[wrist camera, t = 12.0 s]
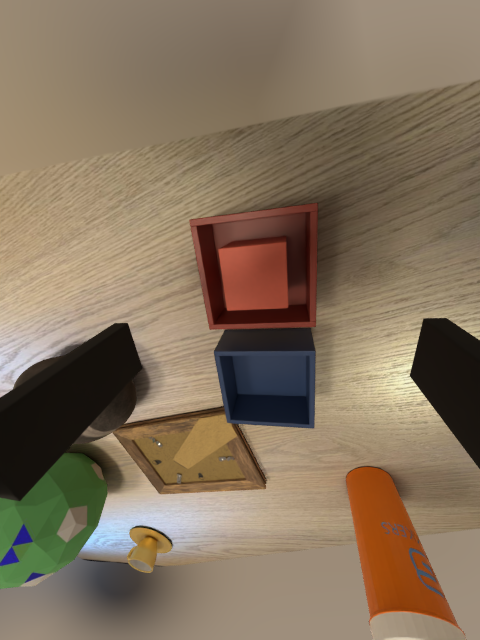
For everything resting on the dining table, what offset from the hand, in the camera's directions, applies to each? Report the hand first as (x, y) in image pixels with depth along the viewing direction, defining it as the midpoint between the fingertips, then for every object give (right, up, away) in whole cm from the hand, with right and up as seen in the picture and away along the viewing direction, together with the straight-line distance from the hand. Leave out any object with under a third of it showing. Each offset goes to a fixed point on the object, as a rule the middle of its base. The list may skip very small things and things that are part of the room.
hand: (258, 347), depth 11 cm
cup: (-25, -57, +52) cm, 81 cm away
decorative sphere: (-36, -31, +42) cm, 63 cm away
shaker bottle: (+21, -25, +28) cm, 43 cm away
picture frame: (-10, -24, +33) cm, 42 cm away
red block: (+2, +7, +16) cm, 18 cm away
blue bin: (+3, -5, +22) cm, 23 cm away
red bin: (+2, +8, +16) cm, 18 cm away
